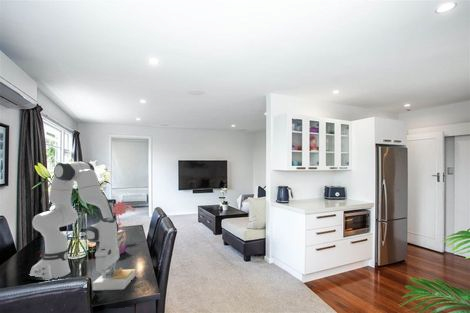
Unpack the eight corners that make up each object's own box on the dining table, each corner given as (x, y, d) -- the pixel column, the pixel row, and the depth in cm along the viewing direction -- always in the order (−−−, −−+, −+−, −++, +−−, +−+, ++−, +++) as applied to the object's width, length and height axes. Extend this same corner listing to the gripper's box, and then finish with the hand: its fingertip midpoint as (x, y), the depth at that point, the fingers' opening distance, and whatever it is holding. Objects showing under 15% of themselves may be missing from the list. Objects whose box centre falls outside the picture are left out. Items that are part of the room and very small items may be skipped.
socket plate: (92, 290, 134) (92, 282, 134) (107, 277, 150) (107, 270, 150) (123, 289, 134) (123, 281, 134) (135, 276, 150) (135, 269, 150)
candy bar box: (115, 256, 185) (115, 233, 186) (109, 256, 187) (109, 233, 187) (126, 251, 196) (125, 229, 197) (120, 251, 197) (120, 229, 198)
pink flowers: (101, 243, 220) (101, 202, 221) (130, 237, 239) (130, 199, 240) (108, 247, 210) (108, 204, 211) (138, 240, 229) (138, 200, 230)
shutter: (113, 278, 137) (113, 272, 138) (120, 271, 146) (120, 266, 147) (126, 278, 138) (126, 272, 138) (132, 271, 147) (132, 265, 147)
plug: (102, 285, 139) (102, 273, 140) (106, 281, 144) (106, 269, 144) (111, 285, 139) (111, 272, 140) (115, 281, 144) (114, 269, 144)
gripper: (111, 243, 153) (111, 266, 152) (93, 254, 132) (93, 282, 132) (122, 242, 153) (122, 266, 152) (105, 254, 133) (105, 281, 132)
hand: (108, 273), depth 142 cm, fingers open, 8 cm apart
